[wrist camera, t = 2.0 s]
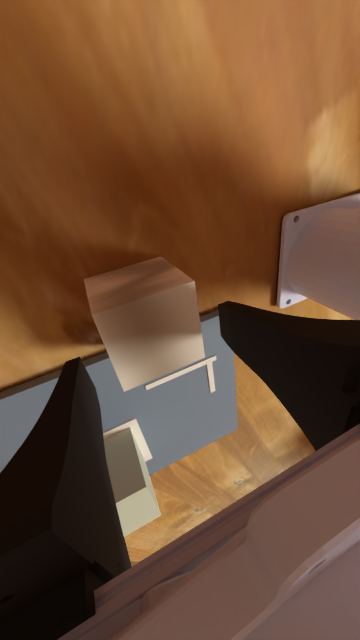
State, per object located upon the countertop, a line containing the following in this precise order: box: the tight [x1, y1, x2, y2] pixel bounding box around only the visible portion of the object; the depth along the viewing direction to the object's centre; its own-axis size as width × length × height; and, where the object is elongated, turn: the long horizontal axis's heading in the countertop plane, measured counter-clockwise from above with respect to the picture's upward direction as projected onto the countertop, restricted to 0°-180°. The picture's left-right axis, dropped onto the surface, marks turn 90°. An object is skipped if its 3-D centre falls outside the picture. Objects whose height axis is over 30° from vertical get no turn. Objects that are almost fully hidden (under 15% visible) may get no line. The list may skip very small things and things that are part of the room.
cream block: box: [84, 256, 205, 392], centre depth 14 cm, size 5×5×5 cm
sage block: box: [104, 427, 161, 537], centre depth 19 cm, size 5×5×5 cm
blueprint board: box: [0, 310, 238, 476], centre depth 21 cm, size 20×16×1 cm
